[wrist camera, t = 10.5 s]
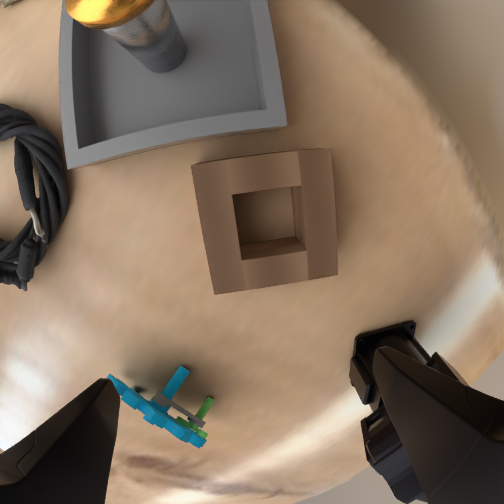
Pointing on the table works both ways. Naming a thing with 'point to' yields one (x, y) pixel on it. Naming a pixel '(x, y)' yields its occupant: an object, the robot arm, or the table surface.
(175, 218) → the table surface
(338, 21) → the table surface
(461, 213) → the table surface
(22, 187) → the cable
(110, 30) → the pin
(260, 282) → the block
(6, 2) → the pulley block
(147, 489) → the table surface
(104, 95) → the tray
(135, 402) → the gear
